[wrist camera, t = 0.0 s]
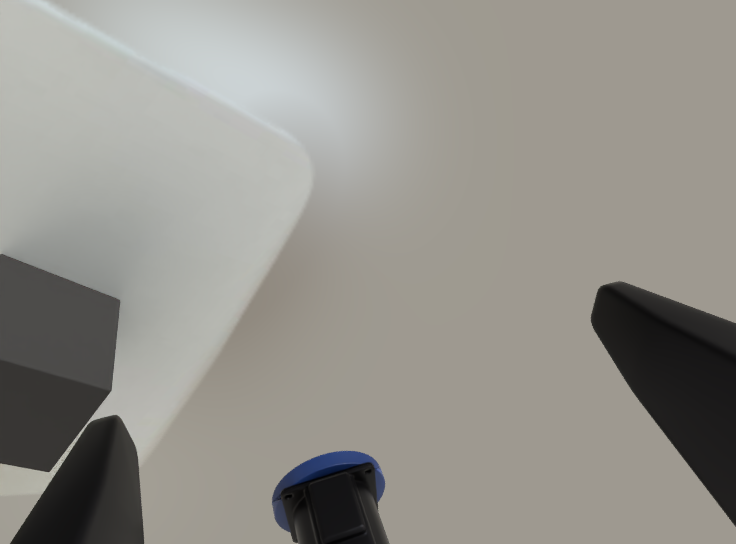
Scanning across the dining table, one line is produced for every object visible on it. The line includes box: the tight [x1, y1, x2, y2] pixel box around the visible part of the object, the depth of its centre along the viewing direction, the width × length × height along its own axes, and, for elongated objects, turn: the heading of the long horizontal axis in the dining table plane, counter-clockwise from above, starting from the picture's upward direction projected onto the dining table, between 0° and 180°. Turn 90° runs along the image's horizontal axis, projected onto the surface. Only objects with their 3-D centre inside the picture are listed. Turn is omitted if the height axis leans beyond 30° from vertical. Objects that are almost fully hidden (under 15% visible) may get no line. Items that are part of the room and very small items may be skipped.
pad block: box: [0, 254, 120, 472], centre depth 21 cm, size 5×5×6 cm
